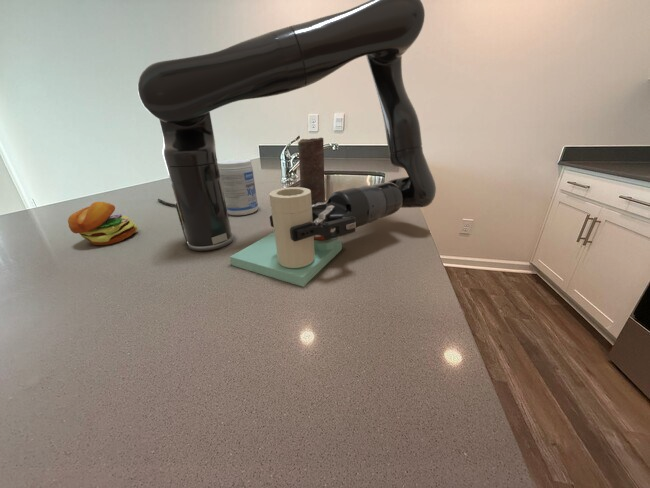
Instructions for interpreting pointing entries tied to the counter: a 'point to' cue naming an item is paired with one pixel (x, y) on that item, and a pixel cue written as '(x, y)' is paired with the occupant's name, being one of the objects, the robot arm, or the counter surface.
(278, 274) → the scale
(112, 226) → the cheeseburger
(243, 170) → the supplement tub
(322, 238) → the tare button
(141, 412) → the counter surface
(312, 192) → the candle
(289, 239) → the jar
